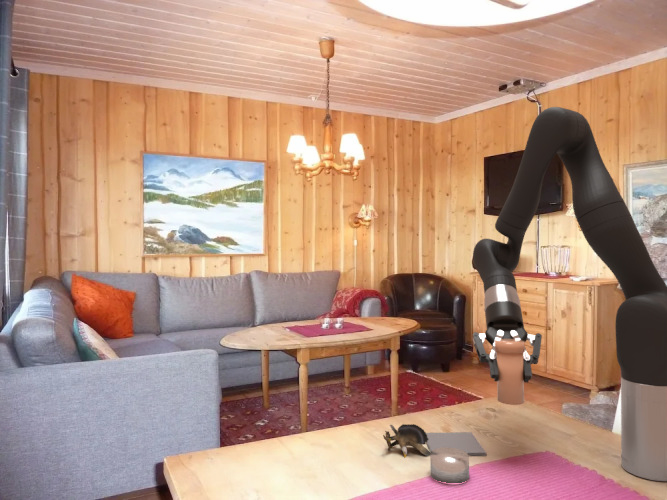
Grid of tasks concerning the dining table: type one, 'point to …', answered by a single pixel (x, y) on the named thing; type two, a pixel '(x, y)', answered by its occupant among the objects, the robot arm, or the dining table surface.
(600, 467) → the dining table surface
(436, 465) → the metal tin
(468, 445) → the slate coaster
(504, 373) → the peach dome-topped cylinder
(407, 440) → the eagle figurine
